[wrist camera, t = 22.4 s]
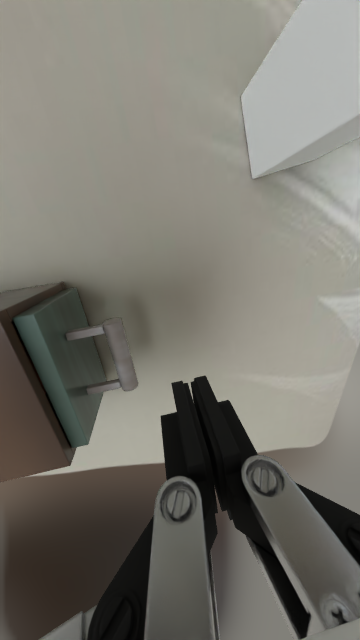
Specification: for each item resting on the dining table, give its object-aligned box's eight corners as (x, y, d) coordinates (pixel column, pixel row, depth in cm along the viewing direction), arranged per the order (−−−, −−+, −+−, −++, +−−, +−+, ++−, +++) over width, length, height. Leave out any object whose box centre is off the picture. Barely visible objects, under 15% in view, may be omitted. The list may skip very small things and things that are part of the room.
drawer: (121, 279, 20) (106, 301, 12) (144, 373, 23) (143, 431, 16) (-72, 312, 18) (-216, 359, 11) (-15, 406, 22) (-94, 487, 15)
